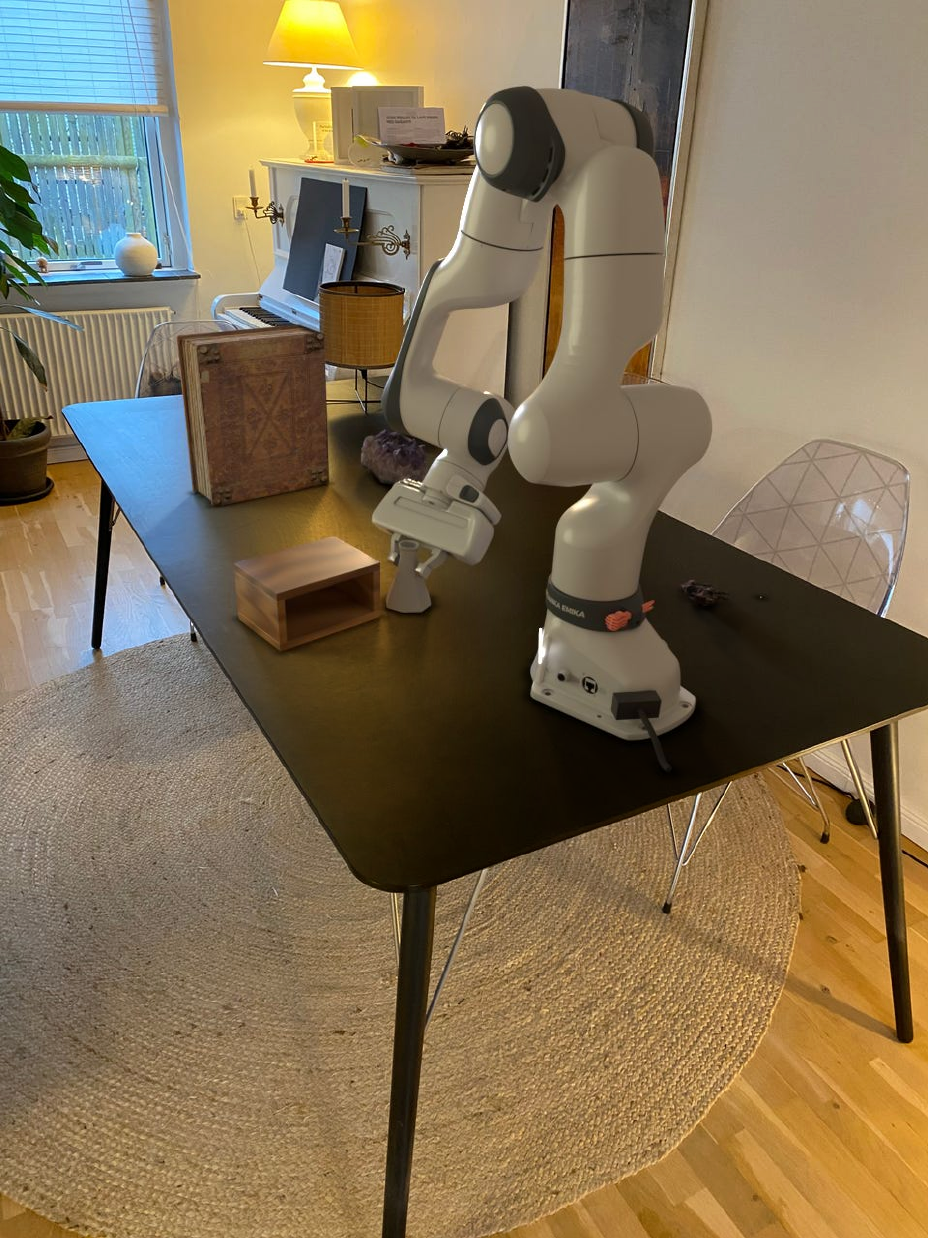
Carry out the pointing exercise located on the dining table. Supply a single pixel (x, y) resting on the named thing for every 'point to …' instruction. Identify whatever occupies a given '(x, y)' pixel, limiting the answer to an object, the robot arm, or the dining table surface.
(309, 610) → the shelf
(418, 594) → the flask
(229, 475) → the book
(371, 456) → the geode
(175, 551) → the dining table surface
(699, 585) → the horse figurine
